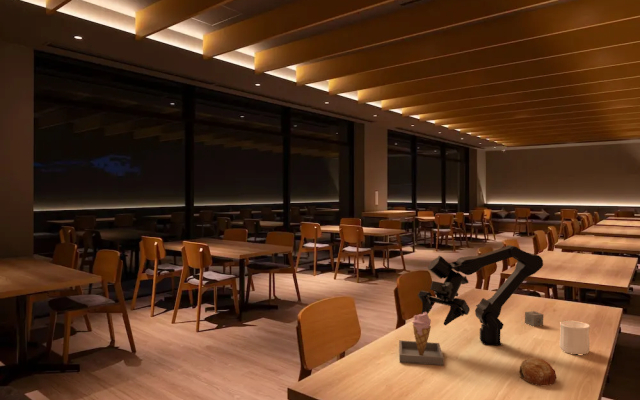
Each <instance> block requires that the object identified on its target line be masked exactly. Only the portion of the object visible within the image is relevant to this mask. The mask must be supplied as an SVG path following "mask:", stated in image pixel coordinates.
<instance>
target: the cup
mask: <svg viewBox="0 0 640 400" xmlns="http://www.w3.org/2000/svg"><path fill="white" fill-rule="evenodd" d="M559 327H560V328H559V329H560V330H559V331H560V332H559V333H560V334H559V348H560V350H561V351H562V350H563V351H562V352H564V351H565V352H564V353H566V352H568V353H572V354H586V353H587V354H588V353H589V352H590V348H591V346H590V345H591V342H590V328H591V326H590V324H589V323H586V322H581V321H578V320H572V319H571V320H568V319H567V320H562V321H560V322H559ZM568 353H567V354H568ZM572 354H571V355H572ZM587 354H586V355H587Z"/></svg>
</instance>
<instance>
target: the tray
mask: <svg viewBox="0 0 640 400" xmlns="http://www.w3.org/2000/svg"><path fill="white" fill-rule="evenodd" d="M398 345H399V346H398V348H399V349H398V353H399V356H398V357H399V363H405V364H416V365H417V364H418V365H430V366H431V365H432V366H442V367H443V366H444V355H443V351H442V349H441V345H440V342H429V341H427V344H426V347H425V351H424V354H423V355H419V352H418V348H417V344H416V340H415V341H413V340H399V341H398Z"/></svg>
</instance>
